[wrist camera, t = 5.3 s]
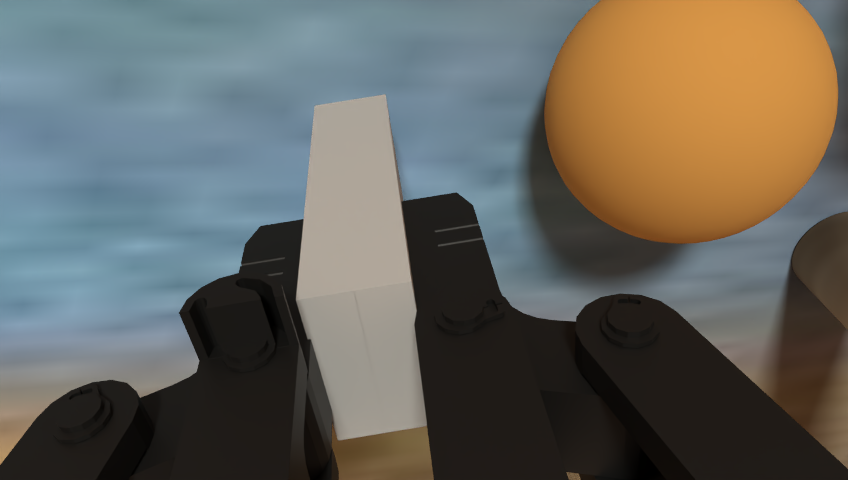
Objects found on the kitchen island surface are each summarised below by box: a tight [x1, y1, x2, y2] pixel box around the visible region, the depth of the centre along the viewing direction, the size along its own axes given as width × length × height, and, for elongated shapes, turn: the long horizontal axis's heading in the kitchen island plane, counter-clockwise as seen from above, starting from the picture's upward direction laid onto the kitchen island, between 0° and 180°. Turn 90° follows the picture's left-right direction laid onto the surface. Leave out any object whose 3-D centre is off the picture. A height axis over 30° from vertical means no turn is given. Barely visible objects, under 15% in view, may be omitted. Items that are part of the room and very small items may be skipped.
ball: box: [544, 0, 838, 244], centre depth 14 cm, size 6×6×6 cm
